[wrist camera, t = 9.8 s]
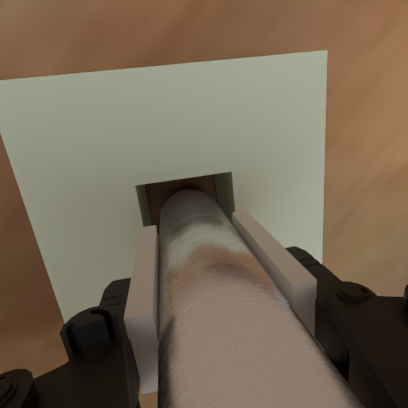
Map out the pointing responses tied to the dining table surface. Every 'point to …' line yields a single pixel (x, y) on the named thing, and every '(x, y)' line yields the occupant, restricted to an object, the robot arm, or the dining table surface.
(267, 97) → the pin block
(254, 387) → the long pin
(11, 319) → the dining table surface
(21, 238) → the dining table surface
